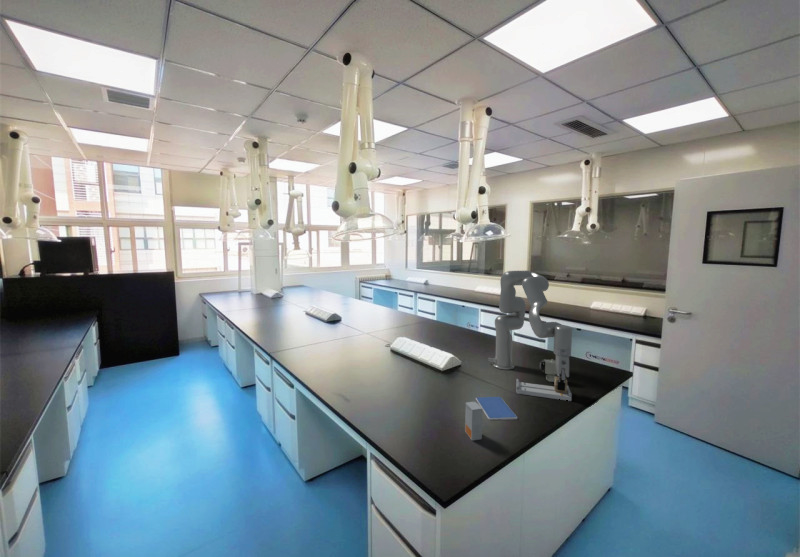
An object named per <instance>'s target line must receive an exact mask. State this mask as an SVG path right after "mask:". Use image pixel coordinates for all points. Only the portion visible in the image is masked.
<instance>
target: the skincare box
mask: <svg viewBox="0 0 800 557" xmlns="http://www.w3.org/2000/svg"><path fill="white" fill-rule="evenodd" d="M464 415H465V418H464V419H465V420H464V431H465V434H466V435H467V436H468V437H469V439H470V440H471V441H478V440H482V438H483V435H482V434H483V410H482V408H481V407H480V405H479V403H478V402H477V401H468V402H465V414H464Z"/></svg>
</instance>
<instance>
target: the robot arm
mask: <svg viewBox="0 0 800 557" xmlns="http://www.w3.org/2000/svg"><path fill="white" fill-rule="evenodd" d="M499 282H500V296H499V304H498V305H499V306H498V307H499V312H501V313H502V314H501V315H498V316H496V317H495V319H494V327H495V356H494V357H487V361H488V362H489V363H492V366H493V367H494V368H496V369H499V370H504V371H505V370H507V371H508V370H512V369H513V370H514V368H515V365H514V363H513V361H512V360H513V335H512V333H511V332H510V331H516V330H517V331H518V330H520V329H522V327H523V326H524V324H525V317H526V316H525V315H526V309H527V308H526V306H527V304H526V301H525V300H524V299H523V298H522V297H521V296H517V295H516V294H517V292H516V287H515V286H521V287H522V289H523V292H524V294H525V296H526V298H527V300H528V303H529V306H530V309H529V311H528V322H529V325H530V327H531V330H532V331H533V332H532V333H534V335H535V336H536V337H537V338H539V339H548V338H553V354H554V355H555V360H556V362H555V369H556V373H557V374H556V376H557V377H559V378H558V386H557V389H558V390H563V391H565V378H569V377H570V357H571V356H572V343H573V342H572V341H573V340H572V338H573V328H572V327H571V326H568V325H565V324H562V323H560V322H557V321H548V322H543V321H542V320H541V316H540V311H541V309H542V308H543V307H544V306H546V305H547V303H548V298H547V296H546V295H545V293H544V292H546V291H548V289H549V286H550V283H549V280H548V279H547V277H545V276H543V275H541V274H538V273H536V272H534V271H531V270H508V271H506V272H503V273H502V275H501V277H500V281H499ZM560 377H561V378H560Z"/></svg>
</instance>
